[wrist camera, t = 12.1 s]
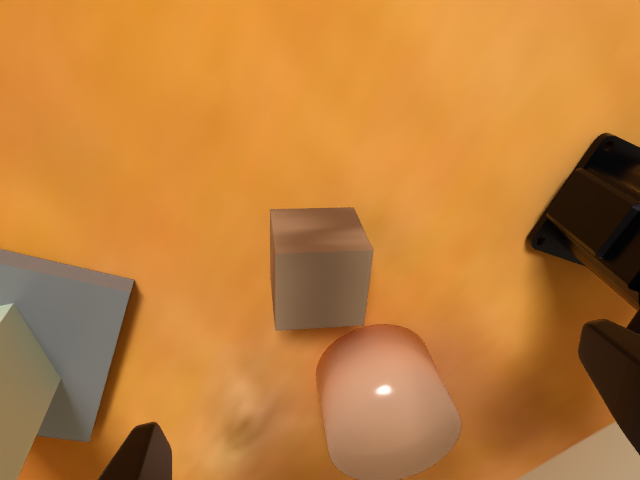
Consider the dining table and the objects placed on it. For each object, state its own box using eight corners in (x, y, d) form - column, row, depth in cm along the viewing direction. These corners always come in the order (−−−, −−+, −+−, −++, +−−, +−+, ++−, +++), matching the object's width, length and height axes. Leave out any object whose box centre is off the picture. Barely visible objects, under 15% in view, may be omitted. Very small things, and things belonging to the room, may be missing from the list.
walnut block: (353, 206, 22) (373, 250, 19) (346, 274, 24) (363, 325, 21) (269, 208, 22) (275, 253, 18) (270, 278, 24) (275, 330, 20)
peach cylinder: (446, 332, 27) (483, 398, 23) (404, 412, 31) (430, 484, 26) (335, 316, 26) (353, 385, 21) (302, 403, 29) (312, 478, 25)
